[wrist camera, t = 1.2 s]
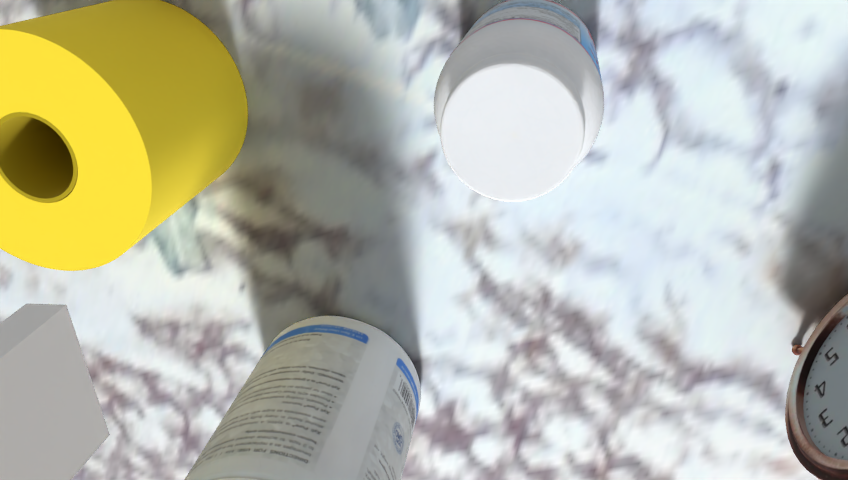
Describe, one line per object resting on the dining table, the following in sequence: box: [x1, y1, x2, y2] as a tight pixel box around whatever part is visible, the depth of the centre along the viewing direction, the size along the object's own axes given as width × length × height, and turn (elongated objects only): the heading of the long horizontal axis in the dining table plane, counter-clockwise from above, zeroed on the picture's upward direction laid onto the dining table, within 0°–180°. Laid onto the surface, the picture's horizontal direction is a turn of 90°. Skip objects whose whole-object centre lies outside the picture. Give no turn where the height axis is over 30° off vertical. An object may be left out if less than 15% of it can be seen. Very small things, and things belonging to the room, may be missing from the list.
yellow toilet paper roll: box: [0, 0, 248, 271], centre depth 33 cm, size 10×10×9 cm
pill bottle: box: [434, 0, 604, 202], centre depth 28 cm, size 6×6×11 cm
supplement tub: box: [185, 316, 421, 480], centre depth 36 cm, size 10×10×15 cm
